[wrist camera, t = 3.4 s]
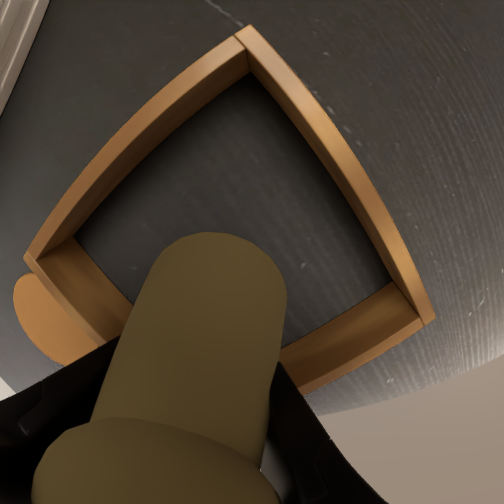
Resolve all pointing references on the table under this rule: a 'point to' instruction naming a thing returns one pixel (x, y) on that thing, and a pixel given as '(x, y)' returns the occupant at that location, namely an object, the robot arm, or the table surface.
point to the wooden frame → (330, 154)
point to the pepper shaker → (182, 387)
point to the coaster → (49, 322)
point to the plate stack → (16, 39)
